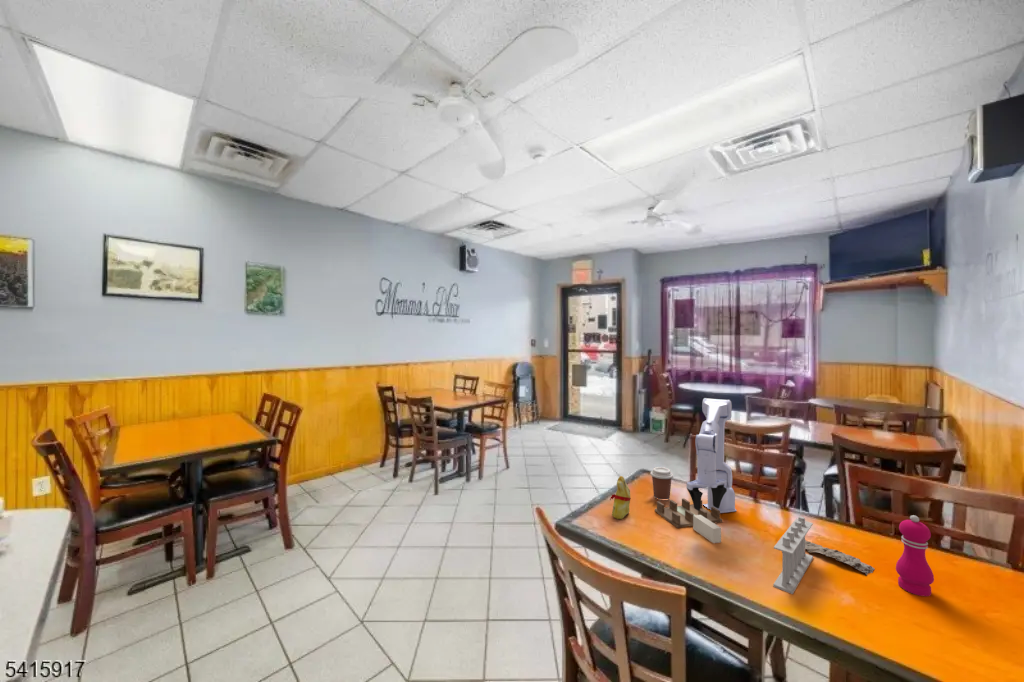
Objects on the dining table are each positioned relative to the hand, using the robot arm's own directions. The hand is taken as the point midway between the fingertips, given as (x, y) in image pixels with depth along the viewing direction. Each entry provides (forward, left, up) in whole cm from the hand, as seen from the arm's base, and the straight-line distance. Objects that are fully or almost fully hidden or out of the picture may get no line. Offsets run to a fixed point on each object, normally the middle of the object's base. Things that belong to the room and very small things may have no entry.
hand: (706, 508), depth 136 cm
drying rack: (-3, -14, -9) cm, 17 cm away
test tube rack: (-10, +24, -10) cm, 28 cm away
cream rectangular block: (0, 0, -10) cm, 10 cm away
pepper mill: (-34, +38, -10) cm, 52 cm away
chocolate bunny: (+21, -22, -10) cm, 32 cm away
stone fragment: (-27, +18, -10) cm, 34 cm away
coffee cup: (-4, -32, -10) cm, 34 cm away
